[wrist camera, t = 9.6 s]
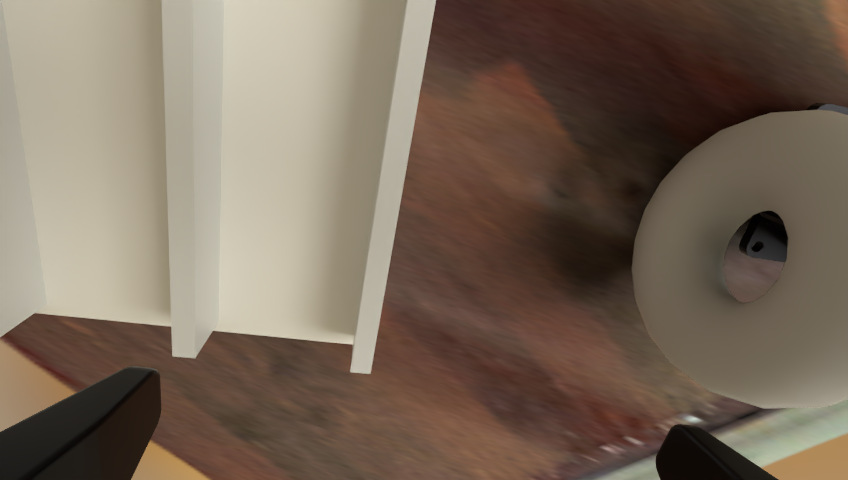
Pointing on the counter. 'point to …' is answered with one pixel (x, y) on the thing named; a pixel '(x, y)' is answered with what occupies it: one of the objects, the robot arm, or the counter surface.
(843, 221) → the donut
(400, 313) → the counter surface
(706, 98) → the counter surface
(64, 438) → the robot arm
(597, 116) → the counter surface
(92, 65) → the tiered shelf rack
